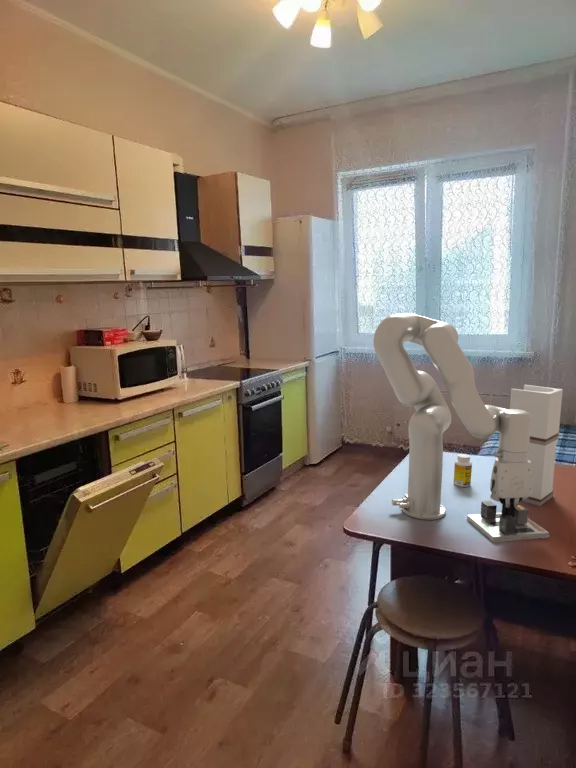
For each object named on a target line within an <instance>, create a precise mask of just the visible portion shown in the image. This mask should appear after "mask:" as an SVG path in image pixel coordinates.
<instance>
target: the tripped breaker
mask: <svg viewBox="0 0 576 768" xmlns="http://www.w3.org/2000/svg"><path fill="white" fill-rule="evenodd" d="M528 517H529V509H528V508H526V507H524V505H519V504H518V506H517V507H515V516H514V518H515V519H516V523H517V524H527V518H528Z"/></svg>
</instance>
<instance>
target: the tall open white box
mask: <svg viewBox="0 0 576 768" xmlns="http://www.w3.org/2000/svg"><path fill="white" fill-rule="evenodd" d="M510 390H511V391H510V402H509V409H519V410H524V411H527V412H528V413H530V415H531V428H530V440H529V452H528V460H529V461H531V467H532V481H533V482H532V494H531V495H530V496H529V498H527V499H523V500H521V501H520V502H524V503H529V504H531V505H535V506H539V507H540V506H543V505H544V504H545V503H546V502H548V501H549V500H550V499H552V498H553V497H554V489H553V486H554V476H555V474H554V473H555V465H556V464H555V463H556V452H557V444H558V443H559V435H560V425H561V423H560V422H561V411H562V403H563V402H562V401H563V400H562V399H563V389H562V388H554V387H546V386H538V385H530V384H524V385H523V389H520V388H519V389H518V388H510Z"/></svg>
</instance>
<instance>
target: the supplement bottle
mask: <svg viewBox="0 0 576 768" xmlns="http://www.w3.org/2000/svg"><path fill="white" fill-rule="evenodd" d="M453 468H454V470H453V484H454V485H455V486H457V487H460V488H467V487H469V486H470V485H471V482H472V471H473V470H472V468H473V462H472V461H471V456H470V455H469V454H467V453H461V454H460V453H459V454H458V455H457V459H456V460H454V467H453Z"/></svg>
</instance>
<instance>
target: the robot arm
mask: <svg viewBox="0 0 576 768" xmlns="http://www.w3.org/2000/svg"><path fill="white" fill-rule="evenodd" d="M372 341H373V349H374V353H375V355H376V358H377V359H378V361H379V363H380V365H381V367H382V368H383V370H384V373H385V376H386V377H387V379H388V381H389V383H390V385H391V387H392V389H393V392H394V395H396V397H397V400H398V401H399V402H400V403H401V405H403V406H405V407H413V408H414V410H415V412H413V414H412V415H411V417H410V419H409V422H408V426H407V427H408V430H407V431H408V440H409V443H408V445H409V451H408V454H409V456H408V461H409V462H408V483H407V486H408V487H407V493H405V494H404V497H401V498H393V499H391V505H392V506H393V507H395V506H397V507H398V508H399V509H401V511H402V512H403V513H404V514H405V515H406V516H409V517H411V518H414V519H419V520H429V521H430V520H431V521H432V520H438V519H439V520H440V519H441V518H444V516H445V515H446V511H447V510H446V507H444V506H443V505H442V504H441V502H442V500H441V499H442V482H443V481H442V480H443V465H444V463H443V457H444V446H443V434H444V432H446V431H447V430H448V428H449V427H450V425H451V424H452V413H451V411H450V408H449V406H448V404H447V402H446V400H445V397H444V396H443V394H442V392H441V390H440V388H439V386H438V385H437V382H436V381H435V379H434V378H433V377H432V376H431V374H430V373H427V372H426V371H423V370H417V368H416V366H415V364H414V362H413V359H412V358H411V356H410V354H409V353H408V352H407V350H406V349H405V347H404V343H406V342H409V343H414V344H417V345H419V346H422V347H423V348H424V351H425V353H426V354H427V356H428V357H429V359H430V361H431V362H432V364H433V366H434V368H436V370H437V371H436V372H438V374H439V376H440V378H441V379H442V381H443V382H444V386H445V387H446V392H447V393H448V396H449V399H450V402H451V405H452V406H453V408H454V410H455V413H456V414H457V417H458V418H459V420H460V421H461V423H462V424H463V425H464V427H465V429H466V430H467V431H468V433H469V434H470V435H472V436H473V437H475V438H477V439H488V438H489V437H491V436H493V435H494V434H495V433H497V432H498V433H499V435H498V448H497V451H494V452H493V456H494V457H495V459H494V463H493V467H492V471H491V476H490V477H491V478H490V482H489V483H490V485H489V486H490V487H489V488H490V492H491V494H490V499H491V501H496V502H499V503H500V504H501V505H502V506H501V508H502V509H501V512H502V515H511V516H512V517H513V518H514V516H515V507H517V506H518V505H519V503H521V502H522V501H521V500H523V499H527V498H529V496H530V495H531V494H532V482H533V481H532V467H531V461H529V460H528V452H529V440H530V428H531V415H530V413H528V412H527V411H524V410H519V409H510V408H504V407H500V406H496V405H491V404H485V403H484V401H483V400H482V399H481V396H480V394H479V391H478V389H477V387H476V382H475V381H476V380H475V372H474V371H475V370H474V368H473V365H472V364H471V363H470V361H469V359H468V358H467V356H466V354H465V353H464V351H463V350H462V347H461V346H460V345H459V343H458V342H459V334H458V331H457V329H456V327H455V326H453V325H452V324H450V323H448V322H444V321H441V320H437V319H433V318H429V317H426V316H422V315H419V314H415V313H411V312H403V313H394V314H391V315H388V316H386V317H385V318H384V319H383V320H381V322H380V323H379V324H378V325H377V327H376V329H375V331H374V335H373V340H372Z"/></svg>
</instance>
